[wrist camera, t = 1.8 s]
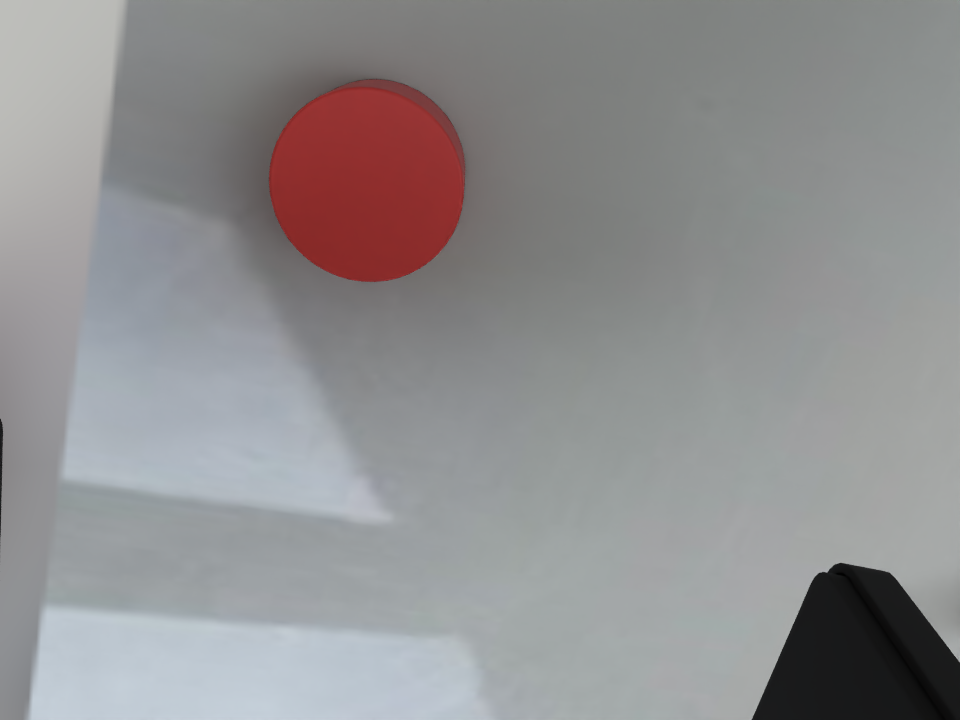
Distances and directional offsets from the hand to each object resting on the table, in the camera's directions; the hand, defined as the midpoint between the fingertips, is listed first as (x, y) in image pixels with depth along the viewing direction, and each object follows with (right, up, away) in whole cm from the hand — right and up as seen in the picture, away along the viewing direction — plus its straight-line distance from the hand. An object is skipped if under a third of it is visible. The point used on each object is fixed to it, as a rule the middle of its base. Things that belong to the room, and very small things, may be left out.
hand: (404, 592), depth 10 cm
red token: (-2, +7, +12) cm, 14 cm away
